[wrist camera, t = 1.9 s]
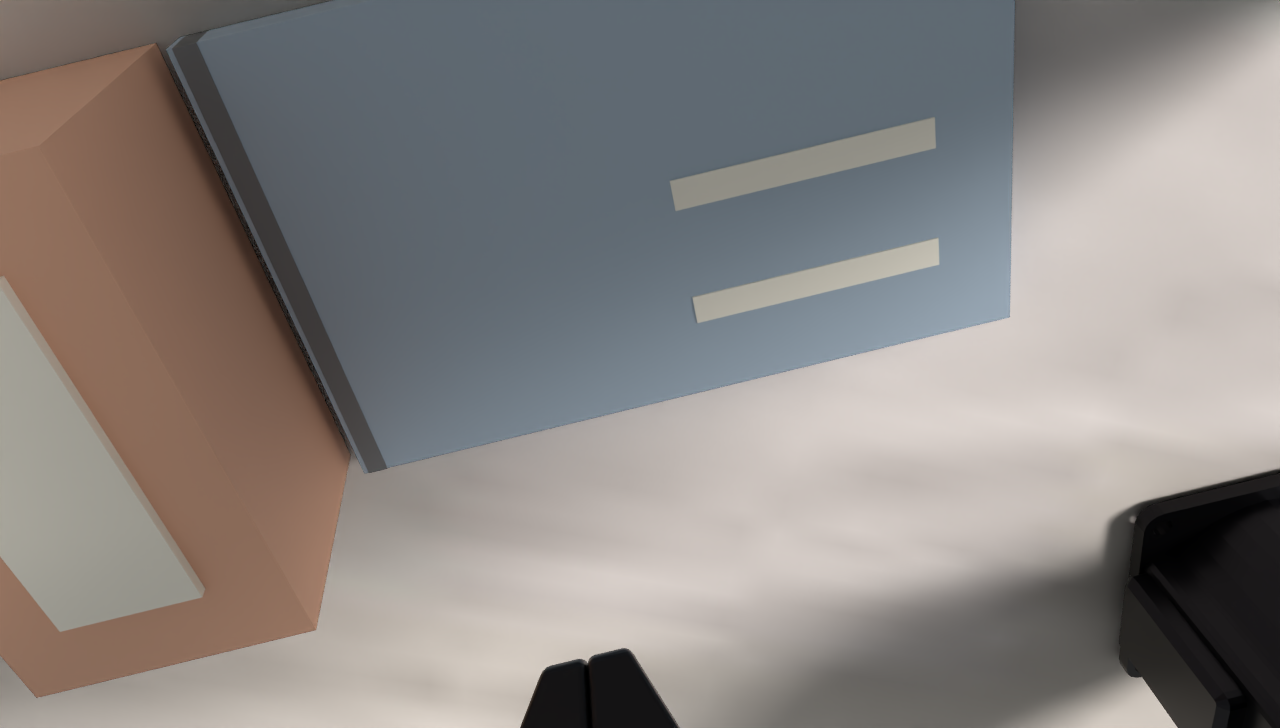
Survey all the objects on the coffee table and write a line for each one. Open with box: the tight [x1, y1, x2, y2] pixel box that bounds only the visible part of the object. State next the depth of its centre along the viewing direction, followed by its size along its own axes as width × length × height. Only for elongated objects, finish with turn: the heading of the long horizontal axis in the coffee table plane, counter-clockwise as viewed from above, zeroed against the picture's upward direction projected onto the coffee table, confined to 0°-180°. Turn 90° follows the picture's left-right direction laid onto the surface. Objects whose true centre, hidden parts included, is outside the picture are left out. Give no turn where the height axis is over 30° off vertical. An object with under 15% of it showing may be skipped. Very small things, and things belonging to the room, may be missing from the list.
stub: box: [0, 43, 350, 698], centre depth 16 cm, size 5×9×5 cm, turn 11°
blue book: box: [166, 0, 1015, 474], centre depth 18 cm, size 14×9×1 cm, turn 101°
